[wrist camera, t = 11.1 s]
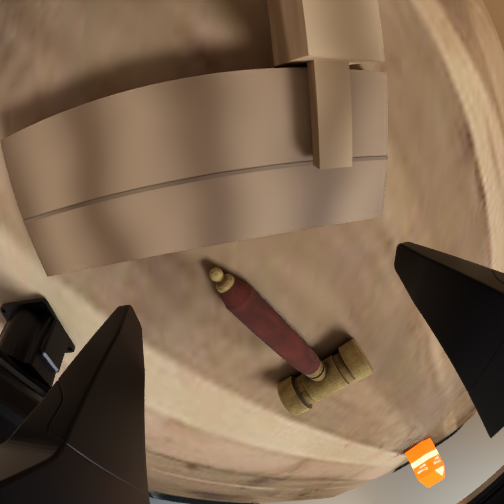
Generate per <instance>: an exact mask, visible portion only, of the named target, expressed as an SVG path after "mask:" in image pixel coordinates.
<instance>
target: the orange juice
mask: <svg viewBox="0 0 504 504" xmlns="http://www.w3.org/2000/svg"><path fill="white" fill-rule="evenodd" d="M406 456H407V458H408V460H409V462H410V464H411V466H412V468H413V470H414V472H415V474H416V477H417V479H418V480H419V481H420V482H421V483H422V484H424V485H425V486H427V487H428V488H429V487H430V486H432V485H434V484H435V483H437V482H439V481H440V480H442V479H444V464H443V462H442V460H441V458H440V456H439V453H438V452H437V450H436V448H435V446H434V444H433V442H432V440H431V439H430V438H429V439H427V440H424V441H421V442H420V443H418V444H417V445H416V446H414V447H413V448H411V449H410V450H409V451H407V452H406Z"/></svg>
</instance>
